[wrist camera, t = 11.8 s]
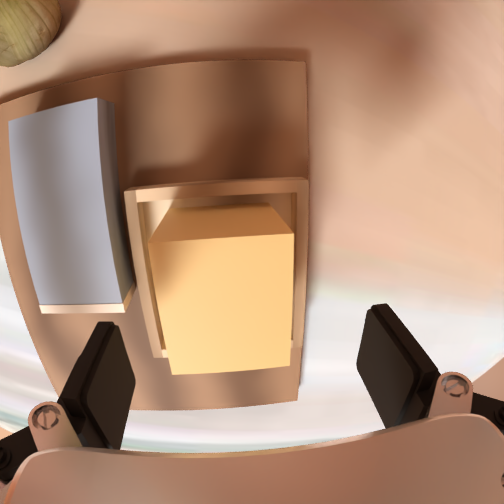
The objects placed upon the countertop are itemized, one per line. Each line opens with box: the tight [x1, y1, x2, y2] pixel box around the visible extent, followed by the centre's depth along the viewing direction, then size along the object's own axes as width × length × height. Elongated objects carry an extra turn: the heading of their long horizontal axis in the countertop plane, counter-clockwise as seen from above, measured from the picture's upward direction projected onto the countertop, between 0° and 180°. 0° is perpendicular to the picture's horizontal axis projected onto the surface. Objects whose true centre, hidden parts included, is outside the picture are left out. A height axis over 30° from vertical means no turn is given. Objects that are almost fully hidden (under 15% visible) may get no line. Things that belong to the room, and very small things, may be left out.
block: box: [148, 203, 294, 375], centre depth 17 cm, size 6×7×6 cm
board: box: [0, 60, 309, 410], centre depth 19 cm, size 22×26×4 cm
